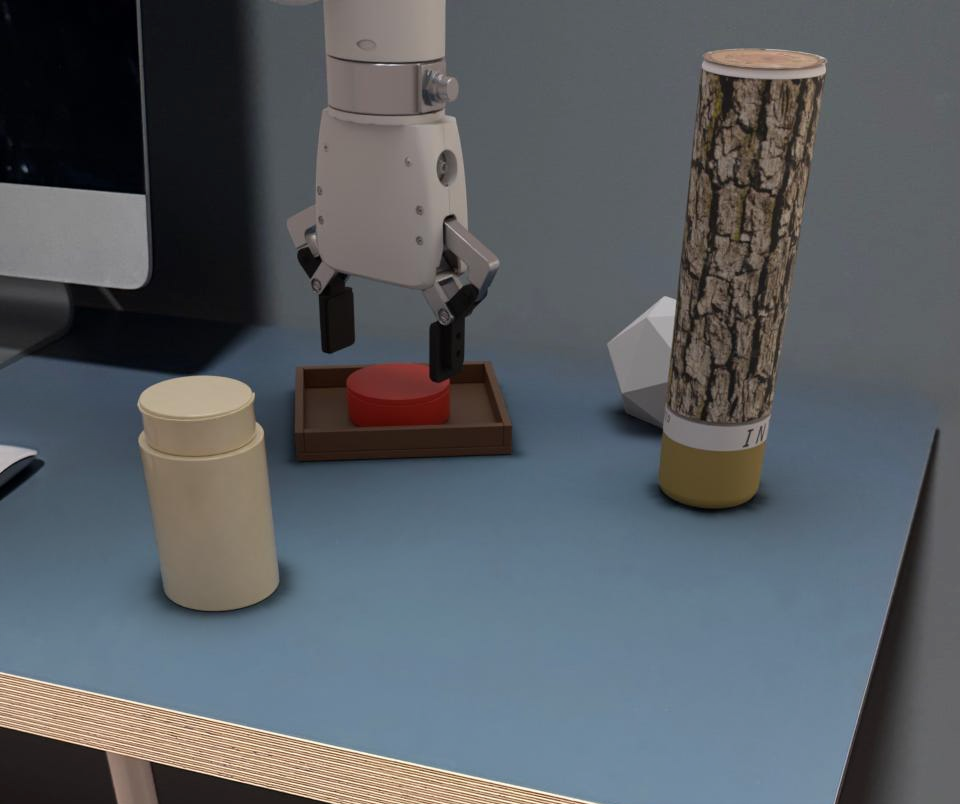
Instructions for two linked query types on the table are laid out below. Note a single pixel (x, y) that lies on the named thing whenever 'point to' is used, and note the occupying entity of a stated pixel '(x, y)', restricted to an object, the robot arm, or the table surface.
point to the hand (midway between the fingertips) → (391, 362)
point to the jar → (208, 492)
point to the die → (645, 361)
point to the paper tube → (737, 268)
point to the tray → (334, 436)
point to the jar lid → (397, 396)
